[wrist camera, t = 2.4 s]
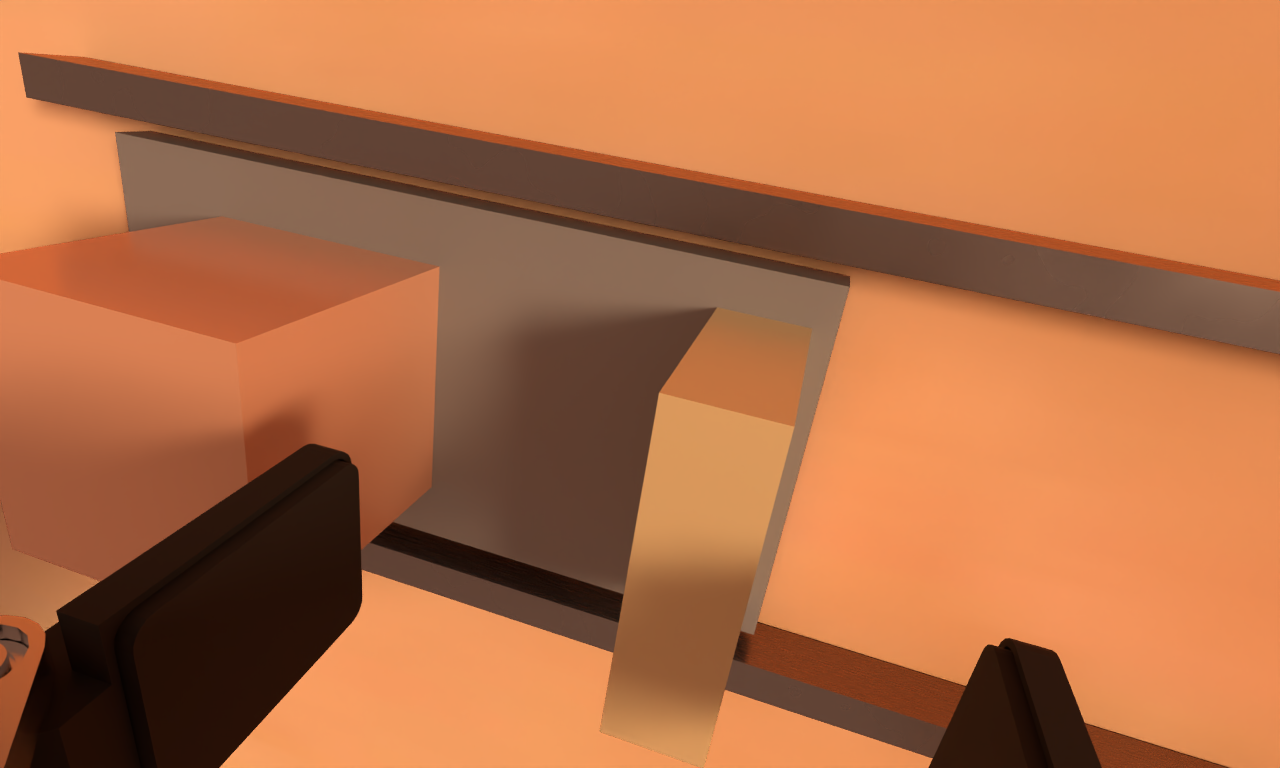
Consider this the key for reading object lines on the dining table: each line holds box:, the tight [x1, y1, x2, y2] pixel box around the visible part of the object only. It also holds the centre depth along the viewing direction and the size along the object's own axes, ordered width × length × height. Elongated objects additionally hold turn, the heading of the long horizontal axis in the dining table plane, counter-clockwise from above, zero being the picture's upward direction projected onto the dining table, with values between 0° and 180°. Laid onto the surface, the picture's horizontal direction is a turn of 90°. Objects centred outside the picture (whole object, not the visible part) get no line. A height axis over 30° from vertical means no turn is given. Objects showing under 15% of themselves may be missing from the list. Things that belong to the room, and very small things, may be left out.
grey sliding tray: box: [115, 131, 850, 768], centre depth 16 cm, size 18×9×6 cm, turn 81°
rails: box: [18, 52, 1280, 768], centre depth 17 cm, size 12×32×2 cm, turn 81°
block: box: [0, 216, 439, 581], centre depth 15 cm, size 6×6×6 cm
